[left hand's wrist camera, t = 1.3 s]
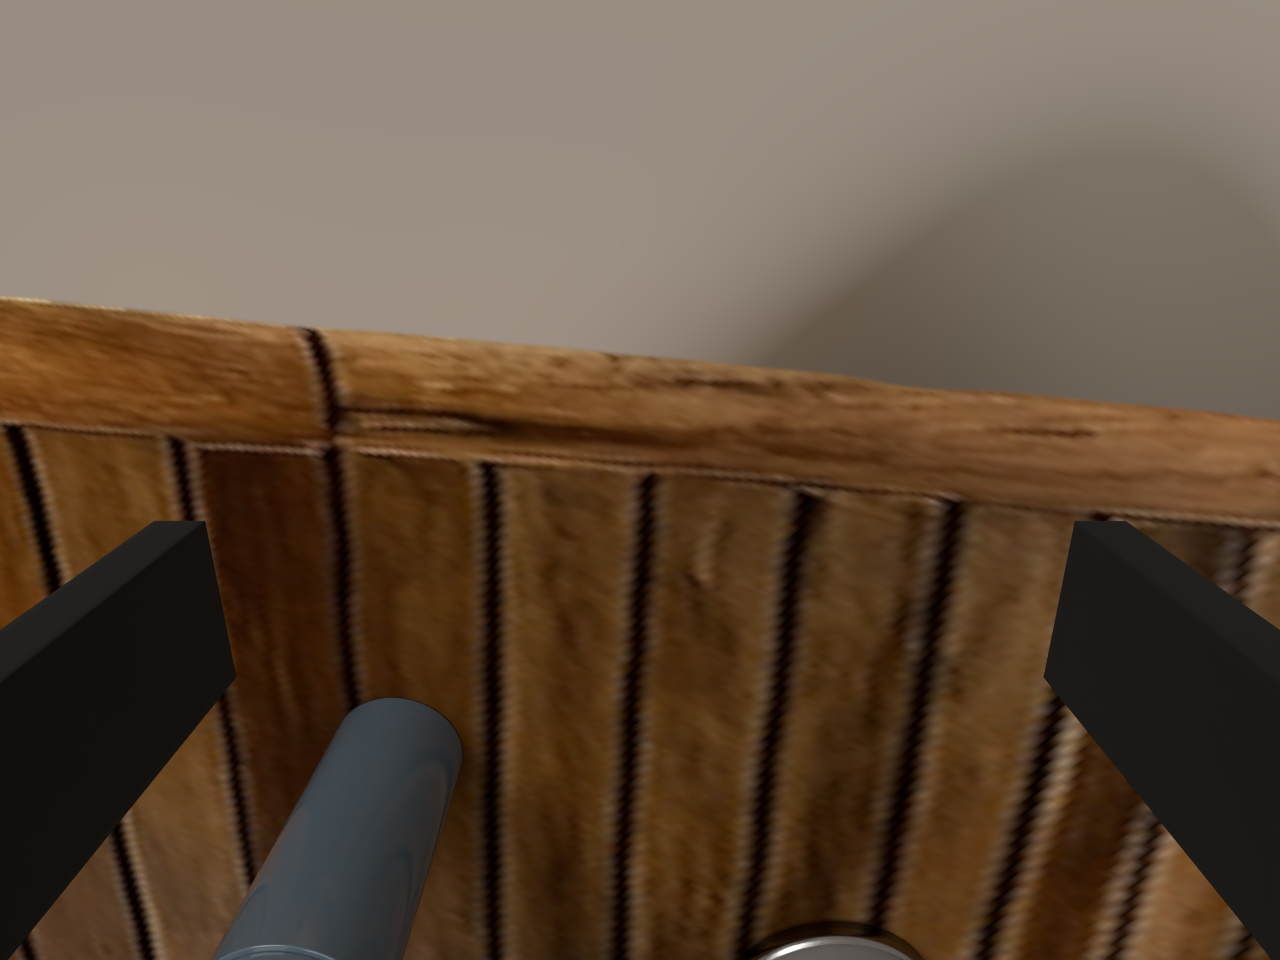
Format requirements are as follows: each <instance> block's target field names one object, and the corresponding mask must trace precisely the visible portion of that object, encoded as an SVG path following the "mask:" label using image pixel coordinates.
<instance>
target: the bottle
mask: <svg viewBox="0 0 1280 960" xmlns="http://www.w3.org/2000/svg"><path fill="white" fill-rule="evenodd" d="M462 761H463V752H462V746H461V742H460V739H459V737H458V735H457V733H456V731H455V730H454V728H453V726H452V725H451V724H450V723H449V722H448V721H447V720H446V719H445V718H444V717H443V716H442V715H441V714H439V713H438V712H437V711H435V710H434V709H432V708H430V707H428V706H426V705H424V704H422V703H419V702H416V701H413V700H408V699H403V698H383V699H376V700H373V701H369V702H367V703H364V704H362V705H360V706H358V707H357V708H355V709H354V710H352V711H351V712H350V713H349V714H348V715H347V716H346V717H345V718H344V719H343V720H342V722H341V723H340V725H339V727H338V729H337V730H336V732H335V734H334V736H333V738H332V739H331V741H330V743H329V745H328V747H327V749H326V750H325V752H324V754H323V756H322V758H321V760H320V761H319V763H318V765H317V767H316V769H315V770H314V772H313V774H312V776H311V778H310V780H309V781H308V783H307V785H306V787H305V789H304V790H303V792H302V794H301V796H300V798H299V800H298V801H297V803H296V805H295V807H294V809H293V811H292V812H291V814H290V816H289V818H288V820H287V821H286V823H285V825H284V827H283V829H282V831H281V832H280V834H279V836H278V838H277V840H276V841H275V843H274V845H273V847H272V849H271V851H270V852H269V854H268V856H267V858H266V860H265V861H264V863H263V865H262V867H261V869H260V871H259V872H258V874H257V876H256V878H255V880H254V882H253V883H252V885H251V887H250V889H249V891H248V892H247V894H246V896H245V898H244V900H243V902H242V903H241V905H240V907H239V909H238V911H237V912H236V914H235V916H234V918H233V920H232V922H231V923H230V925H229V927H228V929H227V931H226V933H225V934H224V936H223V938H222V940H221V942H220V943H219V945H218V947H217V949H216V951H215V953H214V954H213V956H212V958H211V960H403V958H404V954H405V951H406V948H407V944H408V941H409V938H410V935H411V931H412V928H413V925H414V921H415V918H416V915H417V911H418V908H419V905H420V902H421V898H422V895H423V892H424V888H425V885H426V882H427V878H428V875H429V872H430V869H431V865H432V862H433V859H434V855H435V852H436V849H437V845H438V842H439V839H440V836H441V832H442V829H443V826H444V822H445V819H446V816H447V813H448V809H449V806H450V803H451V799H452V796H453V793H454V789H455V786H456V783H457V780H458V776H459V773H460V770H461V766H462Z"/></svg>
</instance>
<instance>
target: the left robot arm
mask: <svg viewBox="0 0 1280 960" xmlns="http://www.w3.org/2000/svg"><path fill="white" fill-rule="evenodd" d="M235 678H236V673H235V668H234V663H233V658H232V653H231V648H230V643H229V638H228V633H227V628H226V623H225V618H224V613H223V608H222V603H221V598H220V593H219V588H218V583H217V578H216V573H215V568H214V563H213V558H212V553H211V548H210V543H209V538H208V533H207V528H206V523H205V521H154V522H152V523H151V524H149V525H148V526H147V527H145V528H144V529H142V530H141V531H140V532H138V533H137V534H135V535H134V536H133V537H131V538H130V539H128V540H127V541H125V542H124V543H123V544H121V545H120V546H118V547H117V548H116V549H114V550H113V551H111V552H110V553H108V554H107V555H106V556H104V557H103V558H101V559H100V560H99V561H97V562H96V563H94V564H93V565H91V566H90V567H89V568H87V569H86V570H84V571H83V572H82V573H80V574H79V575H77V576H76V577H75V578H73V579H72V580H70V581H69V582H67V583H66V584H65V585H63V586H62V587H60V588H59V589H58V590H56V591H55V592H53V593H52V594H50V595H49V596H48V597H46V598H45V599H43V600H42V601H41V602H39V603H38V604H36V605H35V606H34V607H32V608H31V609H29V610H28V611H26V612H25V613H24V614H22V615H21V616H19V617H18V618H17V619H15V620H14V621H12V622H11V623H9V624H8V625H7V626H5V627H4V628H2V629H1V630H0V960H8V959H9V958H10V957H11V955H12V954H13V953H14V952H15V950H16V949H17V948H18V947H19V946H20V944H21V943H22V942H23V941H24V939H25V938H26V937H27V936H28V934H29V933H30V932H31V931H32V929H33V928H34V927H35V926H36V924H37V923H38V922H39V921H40V920H41V918H42V917H43V916H44V915H45V913H46V912H47V911H48V910H49V908H50V907H51V906H52V905H53V903H54V902H55V901H56V900H57V899H58V897H59V896H60V895H61V894H62V892H63V891H64V890H65V889H66V887H67V886H68V885H69V884H70V882H71V881H72V880H73V879H74V877H75V876H76V875H77V874H78V873H79V871H80V870H81V869H82V868H83V866H84V865H85V864H86V863H87V861H88V860H89V859H90V858H91V856H92V855H93V854H94V853H95V851H96V850H97V849H98V848H99V847H100V845H101V844H102V843H103V842H104V840H105V839H106V838H107V837H108V835H109V834H110V833H111V832H112V830H113V829H114V828H115V827H116V825H117V824H118V823H119V822H120V821H121V819H122V818H123V817H124V816H125V814H126V813H127V812H128V811H129V809H130V808H131V807H132V806H133V804H134V803H135V802H136V801H137V800H138V798H139V797H140V796H141V795H142V793H143V792H144V791H145V790H146V788H147V787H148V786H149V785H150V783H151V782H152V781H153V780H154V778H155V777H156V776H157V775H158V774H159V772H160V771H161V770H162V769H163V767H164V766H165V765H166V764H167V762H168V761H169V760H170V759H171V757H172V756H173V755H174V754H175V752H176V751H177V750H178V749H179V748H180V746H181V745H182V744H183V743H184V741H185V740H186V739H187V738H188V736H189V735H190V734H191V733H192V731H193V730H194V729H195V728H196V726H197V725H198V724H199V723H200V722H201V720H202V719H203V718H204V717H205V715H206V714H207V713H208V712H209V710H210V709H211V708H212V707H213V705H214V704H215V703H216V702H217V701H218V699H219V698H220V697H221V696H222V694H223V693H224V692H225V691H226V689H227V688H228V687H229V686H230V684H231V683H232V682H233V681H234V679H235ZM1044 678H1045V679H1046V681H1047V682H1048V683H1049V684H1050V686H1051V687H1052V688H1053V689H1054V691H1055V692H1056V693H1057V694H1058V696H1059V697H1060V698H1061V699H1062V701H1063V702H1064V703H1065V704H1066V705H1067V707H1068V708H1069V709H1070V710H1071V712H1072V713H1073V714H1074V715H1075V717H1076V718H1077V719H1078V720H1079V722H1080V723H1081V724H1082V725H1083V726H1084V728H1085V729H1086V730H1087V731H1088V733H1089V734H1090V735H1091V736H1092V738H1093V739H1094V740H1095V741H1096V743H1097V744H1098V745H1099V746H1100V748H1101V749H1102V750H1103V751H1104V752H1105V754H1106V755H1107V756H1108V757H1109V759H1110V760H1111V761H1112V762H1113V764H1114V765H1115V766H1116V767H1117V769H1118V770H1119V771H1120V772H1121V774H1122V775H1123V776H1124V777H1125V778H1126V780H1127V781H1128V782H1129V783H1130V785H1131V786H1132V787H1133V788H1134V790H1135V791H1136V792H1137V793H1138V795H1139V796H1140V797H1141V798H1142V800H1143V801H1144V802H1145V803H1146V804H1147V806H1148V807H1149V808H1150V809H1151V811H1152V812H1153V813H1154V814H1155V816H1156V817H1157V818H1158V819H1159V821H1160V822H1161V823H1162V824H1163V825H1164V827H1165V828H1166V829H1167V830H1168V832H1169V833H1170V834H1171V835H1172V837H1173V838H1174V839H1175V840H1176V842H1177V843H1178V844H1179V845H1180V847H1181V848H1182V849H1183V850H1184V851H1185V853H1186V854H1187V855H1188V856H1189V858H1190V859H1191V860H1192V861H1193V863H1194V864H1195V865H1196V866H1197V868H1198V869H1199V870H1200V871H1201V873H1202V874H1203V875H1204V876H1205V877H1206V879H1207V880H1208V881H1209V882H1210V884H1211V885H1212V886H1213V887H1214V889H1215V890H1216V891H1217V892H1218V894H1219V895H1220V896H1221V897H1222V899H1223V900H1224V901H1225V902H1226V903H1227V905H1228V906H1229V907H1230V908H1231V910H1232V911H1233V912H1234V913H1235V915H1236V916H1237V917H1238V918H1239V920H1240V921H1241V922H1242V923H1243V925H1244V926H1245V927H1246V928H1247V929H1248V931H1249V932H1250V933H1251V934H1252V936H1253V937H1254V938H1255V939H1256V941H1257V942H1258V943H1259V944H1260V946H1261V947H1262V948H1263V949H1264V950H1265V952H1266V953H1267V954H1268V955H1269V957H1270V958H1271V959H1272V960H1280V630H1279V629H1278V628H1276V627H1275V626H1273V625H1272V624H1271V623H1269V622H1268V621H1266V620H1265V619H1263V618H1262V617H1261V616H1259V615H1258V614H1256V613H1255V612H1254V611H1252V610H1251V609H1249V608H1248V607H1246V606H1245V605H1244V604H1242V603H1241V602H1239V601H1238V600H1237V599H1235V598H1234V597H1232V596H1231V595H1230V594H1228V593H1227V592H1225V591H1224V590H1222V589H1221V588H1220V587H1218V586H1217V585H1215V584H1214V583H1213V582H1211V581H1210V580H1208V579H1207V578H1205V577H1204V576H1203V575H1201V574H1200V573H1198V572H1197V571H1196V570H1194V569H1193V568H1191V567H1190V566H1188V565H1187V564H1186V563H1184V562H1183V561H1181V560H1180V559H1179V558H1177V557H1176V556H1174V555H1173V554H1172V553H1170V552H1169V551H1167V550H1166V549H1164V548H1163V547H1162V546H1160V545H1159V544H1157V543H1156V542H1155V541H1153V540H1152V539H1150V538H1149V537H1147V536H1146V535H1145V534H1143V533H1142V532H1140V531H1139V530H1138V529H1136V528H1135V527H1133V526H1132V525H1131V524H1129V523H1128V522H1126V521H1075V523H1074V528H1073V533H1072V538H1071V543H1070V548H1069V553H1068V558H1067V563H1066V568H1065V573H1064V578H1063V583H1062V588H1061V593H1060V598H1059V603H1058V608H1057V613H1056V618H1055V623H1054V628H1053V633H1052V638H1051V643H1050V648H1049V653H1048V658H1047V663H1046V668H1045V673H1044ZM739 960H922V958H921V957H920V956H919V955H918V954H917V953H916V952H915V951H914V950H913V949H912V948H911V947H910V946H909V945H907V944H906V943H905V942H903V941H902V940H900V939H899V938H897V937H895V936H893V935H891V934H889V933H887V932H885V931H882V930H879V929H877V928H873V927H869V926H865V925H860V924H854V923H845V922H825V923H815V924H809V925H803V926H799V927H795V928H791V929H789V930H786V931H783V932H780V933H778V934H775V935H773V936H771V937H769V938H767V939H765V940H763V941H762V942H760V943H759V944H757V945H756V946H754V947H753V948H751V949H750V950H749V951H748V952H746V953H745V954H744V955H743V956H742V957H741V958H740V959H739Z"/></svg>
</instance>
